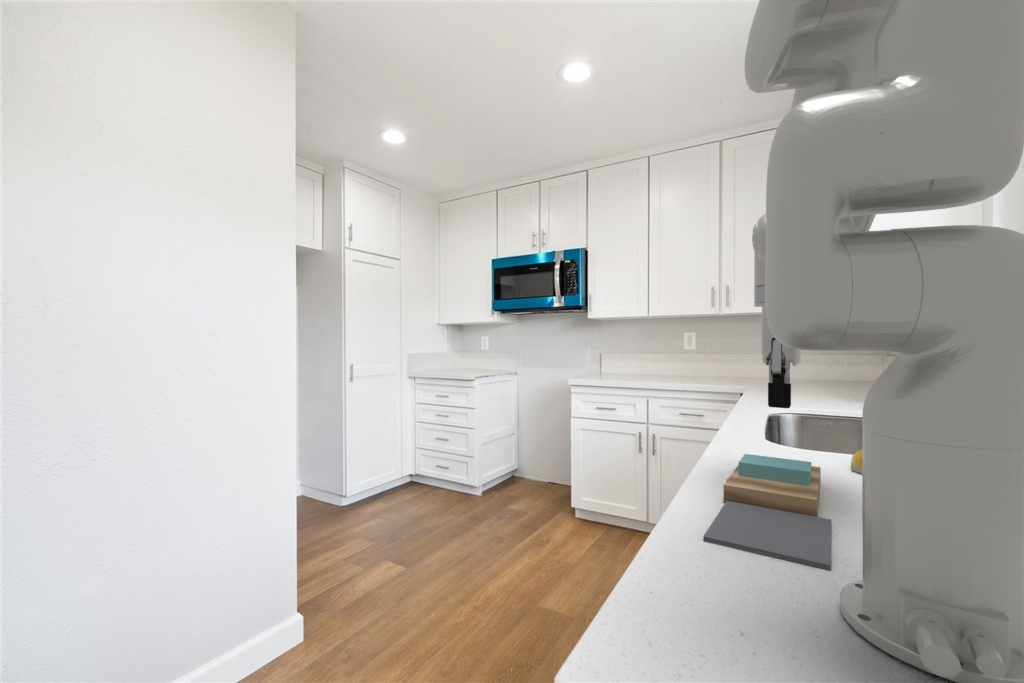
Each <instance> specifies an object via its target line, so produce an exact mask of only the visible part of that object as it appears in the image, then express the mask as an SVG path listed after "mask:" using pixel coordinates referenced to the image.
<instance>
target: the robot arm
mask: <svg viewBox="0 0 1024 683" xmlns="http://www.w3.org/2000/svg"><path fill="white" fill-rule="evenodd" d="M744 78H745V81H746V85H747V86H748V88H749V90H750V91H752V92H754V93H756V94H757V93H758V94H763V93H772V92H780V91H787V90H794V94H793V98H792V102H791V107H790V109H789V111H788V112H787V113H786V114H785V115H784V117H783V118H782V119H781V121H780V122H779V124H778V126H777V129H776V130H775V133H774V136H773V139H772V143H771V146H770V151H769V154H768V161H767V173H766V190H765V192H766V193H765V214H763V215H762V216H761V217H760V218H759V219H758V220H757V223H755V224H754V225H753V228H752V235H751V237H752V238H751V239H752V242H751V243H752V249H753V250H754V253H753V254H754V263H753V264H754V265H753V266H754V267H753V268H754V269H753V271H754V274H753V275H754V277H753V278H754V279H753V280H754V283H753V285H754V286H753V287H754V291H753V292H754V295H753V296H754V297H753V298H754V300H753V301H754V305H753V306H754V307H756V308H757V307H760V308H761V356H762V363H763V364H764V365H765V366H768V383H767V405H768V407H769V408H775V409H790V408H791V406H792V383H791V382H790V380H791V379H790V378H791V364H792V366H793V367H796V366H798V365H799V364H801V351H811V352H812V351H813V352H815V351H817V352H819V351H821V352H823V351H825V352H826V351H827V352H833V351H834V352H836V351H837V352H838V351H839V352H840V351H841V352H843V351H847V352H849V351H850V352H851V351H853V352H859V351H860V352H866V351H867V352H869V351H870V352H872V351H873V352H874V351H875V352H879V351H880V352H889V353H897V354H896V356H895V357H894V358H893V360H892V361H891V362H890V363H889V364H888V365H887V367H886V368H885V369H884V370H883V371H882V373H881V374H880V375H879V376H878V377H877V379H876V380H875V381H874V382H873V384H872V386H871V387H870V389H869V390H868V392H867V394H866V397H865V399H864V403H863V407H862V424H861V425H862V427H861V428H862V431H861V433H862V434H861V435H862V436H861V437H862V438H861V439H862V440H861V441H862V442H861V443H862V444H861V445H862V446H861V447H862V449H861V450H862V474H861V476H862V478H861V479H862V480H861V481H862V484H861V485H862V489H861V490H862V491H861V492H862V493H861V494H862V496H861V497H862V500H861V501H862V504H861V505H862V508H861V509H862V579H861V580H857V581H853V582H851V583H848V584H847V585H845V586H844V587H843V588H842V590H841V591H840V593H839V594H840V596H839V608H840V611H841V614H842V615H843V617H844V618H845V620H846V622H847V623H848V624H849V625H850V626H851V627H852V628H853V629H854V631H856V632H857V633H858V634H859V635H861V636H862V638H864V639H866V641H868V642H870V643H871V644H872V645H874V646H875V647H877V648H879V649H880V650H881V651H883V652H885V653H887V654H889V655H890V656H892V657H895V658H896V659H898V660H900V661H901V662H904V663H906V664H907V665H911V666H913V667H914V668H917V669H919V670H921V671H923V672H926V673H929V674H930V675H931V674H932V675H933V676H937V677H938V678H939V677H940V678H942V679H945V680H948V681H950V682H953V683H1024V233H1023V232H1020V231H1016V230H1012V229H1008V228H1005V227H998V226H991V225H981V224H980V225H978V224H974V225H973V224H969V225H968V224H958V225H956V224H955V225H953V224H952V225H940V226H939V225H938V226H921V227H920V226H919V227H906V228H905V227H902V228H890V229H885V230H884V229H881V230H871V227H872V225H873V222H874V220H875V218H876V216H877V215H887V214H888V215H889V214H899V213H900V214H902V213H913V212H925V211H927V212H928V211H936V210H943V209H950V208H951V209H952V208H959V207H963V206H968V205H972V204H975V203H978V202H982V201H984V200H987V199H988V198H991V197H993V196H995V195H997V194H998V193H1000V192H1001V191H1002V190H1004V189H1005V188H1006V187H1007V186H1008V185H1009V184H1010V182H1011V181H1012V180H1013V178H1014V177H1015V175H1016V173H1017V171H1018V169H1019V167H1020V164H1021V160H1022V157H1023V154H1024V0H759V1H758V4H757V7H756V10H755V13H754V17H753V19H752V23H751V26H750V29H749V34H748V39H747V44H746V49H745V57H744Z"/></svg>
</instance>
